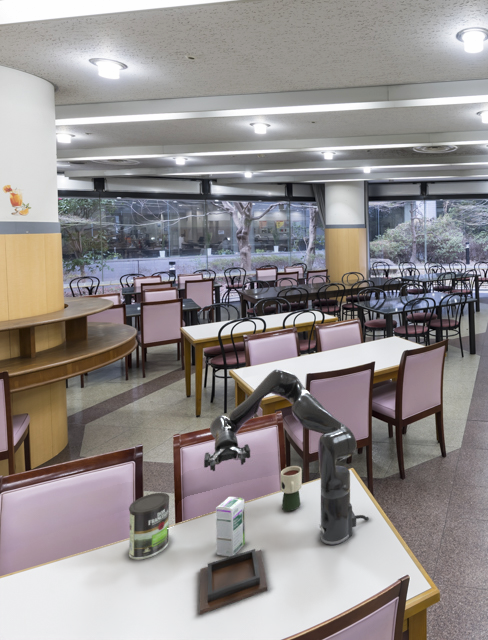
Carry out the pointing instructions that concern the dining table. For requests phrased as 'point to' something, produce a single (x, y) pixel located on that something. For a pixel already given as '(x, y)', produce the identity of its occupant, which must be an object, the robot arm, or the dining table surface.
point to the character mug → (291, 487)
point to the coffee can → (149, 525)
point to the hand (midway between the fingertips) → (228, 465)
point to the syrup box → (230, 526)
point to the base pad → (231, 580)
